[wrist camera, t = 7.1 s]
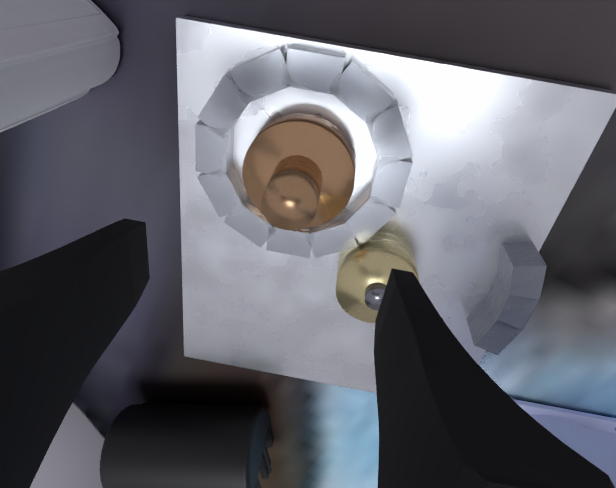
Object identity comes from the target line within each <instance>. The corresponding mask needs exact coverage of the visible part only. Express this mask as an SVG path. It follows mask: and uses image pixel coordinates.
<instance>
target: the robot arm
mask: <svg viewBox="0 0 616 488" xmlns="http://www.w3.org/2000/svg"><path fill="white" fill-rule="evenodd" d="M149 278H150V277H149V264H148V250H147V237H146V224H145V222H140V221H135V220H130V219H123V220H120V221H117V222H115V223H113V224H110V225H108V226H106V227H104V228H102V229H100V230H97V231H95V232H93V233H91V234H89V235H87V236H85V237H82V238H80V239H78V240H76V241H74V242H72V243H69V244H67V245H65V246H63V247H61V248H58V249H56V250H54V251H51V252H49V253H46V254H44V255H42V256H39V257H37V258H34V259H32V260H30V261H27V262H25V263H22V264H20V265H17V266H14V267H11V268H9V269H6V270H3V271H0V488H30V485H31V483H32V481H33V479H34V477H35V475H36V473H37V471H38V469H39V467H40V465H41V462H42V461H43V458H44V456H45V454H46V452H47V450H48V448H49V446H50V444H51V442H52V440H53V438H54V436H55V434H56V432H57V431H58V429H59V427H60V425H61V423H62V421H63V419H64V417H65V415H66V413H67V411H68V409H69V408H70V406H71V404H72V402H73V400H74V399H75V397H76V395H77V393H78V391H79V390H80V388H81V386H82V384H83V382H84V381H85V379H86V377H87V376H88V374H89V373H90V371H91V370H92V368H93V367H94V365H95V364H96V362H97V361H98V359H99V358H100V357H101V355H102V354H103V352H104V351H105V349H106V348H107V347H108V345H109V344H110V342H111V341H112V340H113V338H114V337H115V335H116V334H117V332H118V331H119V330H120V328H121V327H122V325H123V324H124V322H125V321H126V320H127V318H128V317H129V315H130V314H131V312H132V311H133V309H134V308H135V306H136V304H137V302H138V301H139V299H140V297H141V295H142V293H143V291H144V289H145V287H146V285H147V283H148V280H149ZM374 364H375V378H376V391H377V404H378V417H379V470H378V488H616V418H611V417H605V416H600V415H595V414H590V413H584V412H579V411H574V410H569V409H563V408H558V407H553V406H548V405H542V404H537V403H532V402H526V401H521V400H516V399H511V398H510V397H509V396H508V395H507V394H506V393H505V392H504V391H503V390H502V389H501V388H500V387H499V386H498V385H497V384H496V383H495V382H494V381H493V380H492V379H491V378H490V377H489V376H488V375H487V374H486V373H485V371H484V370H483V369H482V368H481V367H480V366H479V365H478V364H477V363H476V362H475V360H474V359H473V358H472V357H471V356H470V355H469V353H468V352H467V351H466V350H465V349H464V347H463V346H462V345H461V343H460V342H459V341H458V340H457V338H456V337H455V336H454V334H453V333H452V332H451V330H450V329H449V328H448V326H447V325H446V323H445V322H444V320H443V319H442V317H441V316H440V314H439V313H438V311H437V310H436V308H435V307H434V305H433V304H432V302H431V301H430V299H429V297H428V296H427V294H426V292H425V291H424V289H423V288H422V286H421V284H420V283H419V281H418V279H417V278H416V276H415V275H414V273H413V272H409V271H404V270H398V269H393V268H392V269H391V272H390V276H389V279H388V282H387V285H386V288H385V292H384V295H383V298H382V301H381V304H380V308H379V311H378V314H377V317H376V320H375V335H374Z"/></svg>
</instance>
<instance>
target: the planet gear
mask: <svg viewBox="0 0 616 488" xmlns="http://www.w3.org/2000/svg"><path fill="white" fill-rule="evenodd" d="M242 177H243V183H244V187H245V190H246V192H247V194H248V196H249V198H250V200H251V201H252V203H253V204H254V205H255V207H256V208H257V209H258V210H259V211H260V212H261V213H263V214H264V215H265V217H266V218H267V220H268V221H269V222H270V223H271V224H273V225H274V226H276V227H278V228H280V229H284V230H299V229H302V228H309V227H315V226H318V225H322V224H324V223H326V222H328V221H330V220H332V219H333V218H335V217H336V216H337V215H338V214H340V213H341V212H342V210H343V209H344V208H345V207H346V205H347V204H348V202H349V200H350V198H351V196H352V193H353V189H354V183H355V157H354V153H353V150H352V147H351V145H350V143H349V141H348V139H347V138H346V137H345V135H344V134H343V133H342V132H341V131H340V130H339V129H338V128H337V127H336V126H335V125H334V124H332V123H331V122H329V121H327V120H326V119H323V118H321V117H319V116H315V115H312V114H305V113H294V114H288V115H284V116H281V117H278V118H276V119H274V120H273V121H271V122H269V123H268V124H267V125H266V126H264V127H263V128H262V129H261V131H260V132H259V133H258V135H257V136H256V137H255V139H254V140H253V142H252V144H251V145H250V147H249V148H248V150H247V152H246V155H245V158H244V161H243V167H242Z"/></svg>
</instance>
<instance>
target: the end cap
mask: <svg viewBox="0 0 616 488" xmlns="http://www.w3.org/2000/svg"><path fill="white" fill-rule="evenodd" d="M273 439H274V437H273V433H272V430H271V426H270V417H269V414H268V412H267V410H266V409H265V407H264V405H237V404H176V403H143V404H136V405H131V406H128V407H126V408H125V409H124V410H122V411H121V412H120V413H119V414H118V416H117V417H116V418H115V420H114V421H113V423H112V424H111V426H110V428H109V430H108V432H107V435H106V438H105V440H104V444H103V448H102V452H101V460H100V478H101V482H102V486H103V488H261V486H260V483H259V480H258V472H259V470H260V473H261V476H262V479H268V475H269V473H270V472H271V471H272V470H271V467H270V465H271V461H270V458H269V454H268V451H267V448H270V447H271V446H272V444H273Z"/></svg>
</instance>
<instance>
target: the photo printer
mask: <svg viewBox="0 0 616 488" xmlns="http://www.w3.org/2000/svg"><path fill="white" fill-rule="evenodd" d="M118 34H119V31H118V29H117V28H116V26H115V25H114V24H113V23H112V21H111V20H110V19H109V18H108V17H107V16H106V15H105V14H104V13H103V12H102V11H101V10H100V9H99V8H98V7H97V6H96V5H95V4H94V3H93V2H92V1H91V0H0V132H2V131H5V130H7V129H10V128H12V127H14V126H17V125H19V124H21V123H24V122H26V121H28V120H30V119H33V118H35V117H37V116H40V115H42V114H44V113H47V112H49V111H51V110H54V109H56V108H58V107H60V106H62V105H65V104H67V103H69V102H71V101H74V100H76V99H78V98H80V97H82V96H84V95H85V94H87V93H88V92H89V90H90V89H91V88H94V87H96V86H98V85H101V84H103V83H104V82H106V81H107V80H109V79H110V78H111V77H112V75H113V74H114V73H115V71H116V69H117V67H118V63H119V60H120V43H119V39H118V37H117V35H118Z"/></svg>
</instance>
